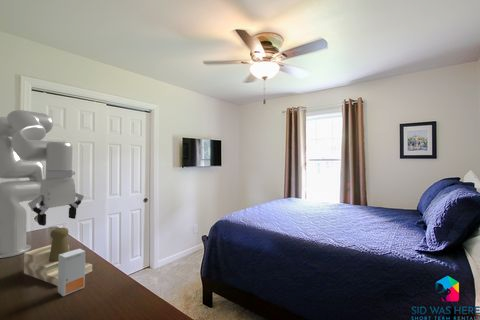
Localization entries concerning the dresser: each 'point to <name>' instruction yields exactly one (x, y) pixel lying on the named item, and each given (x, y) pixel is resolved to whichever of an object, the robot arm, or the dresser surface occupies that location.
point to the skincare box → (71, 271)
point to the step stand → (44, 265)
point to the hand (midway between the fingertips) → (57, 221)
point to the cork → (58, 243)
